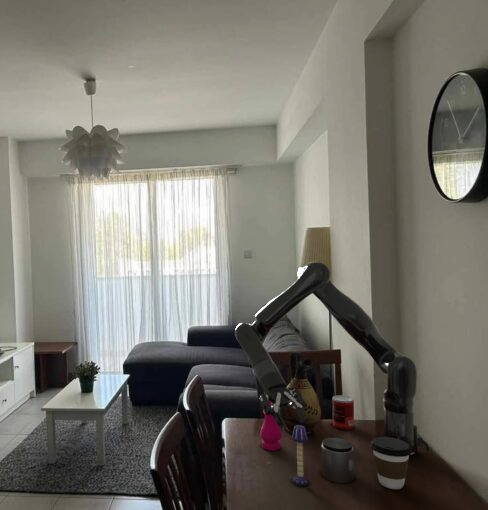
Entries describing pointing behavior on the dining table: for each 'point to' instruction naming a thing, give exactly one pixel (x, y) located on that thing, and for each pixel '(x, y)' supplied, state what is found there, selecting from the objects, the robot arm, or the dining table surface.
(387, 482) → the coffee cup
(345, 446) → the grey metal canister
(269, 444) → the pepper mill
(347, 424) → the canned food
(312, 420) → the ceramic jug
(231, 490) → the dining table surface
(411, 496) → the dining table surface
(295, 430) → the toy lamp
